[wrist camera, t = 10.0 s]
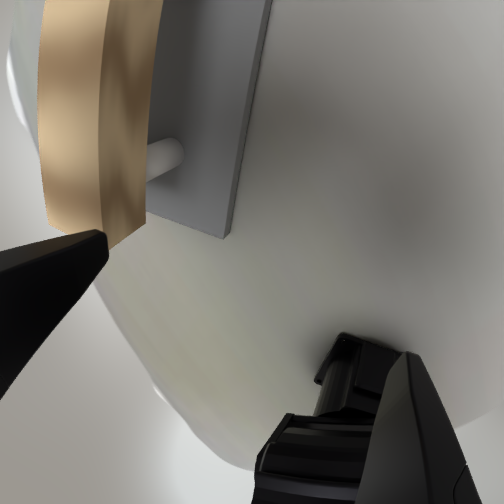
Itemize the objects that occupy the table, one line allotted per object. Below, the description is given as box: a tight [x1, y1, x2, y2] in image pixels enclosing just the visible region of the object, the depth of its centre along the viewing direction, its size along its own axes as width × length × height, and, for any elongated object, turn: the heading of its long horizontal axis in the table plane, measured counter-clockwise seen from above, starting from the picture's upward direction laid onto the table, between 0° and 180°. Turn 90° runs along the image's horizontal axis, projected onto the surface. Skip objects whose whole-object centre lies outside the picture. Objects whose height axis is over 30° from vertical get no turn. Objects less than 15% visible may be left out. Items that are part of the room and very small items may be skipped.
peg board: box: [146, 0, 272, 239], centre depth 15 cm, size 22×12×5 cm, turn 170°
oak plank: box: [37, 0, 163, 250], centre depth 12 cm, size 18×5×4 cm, turn 170°
